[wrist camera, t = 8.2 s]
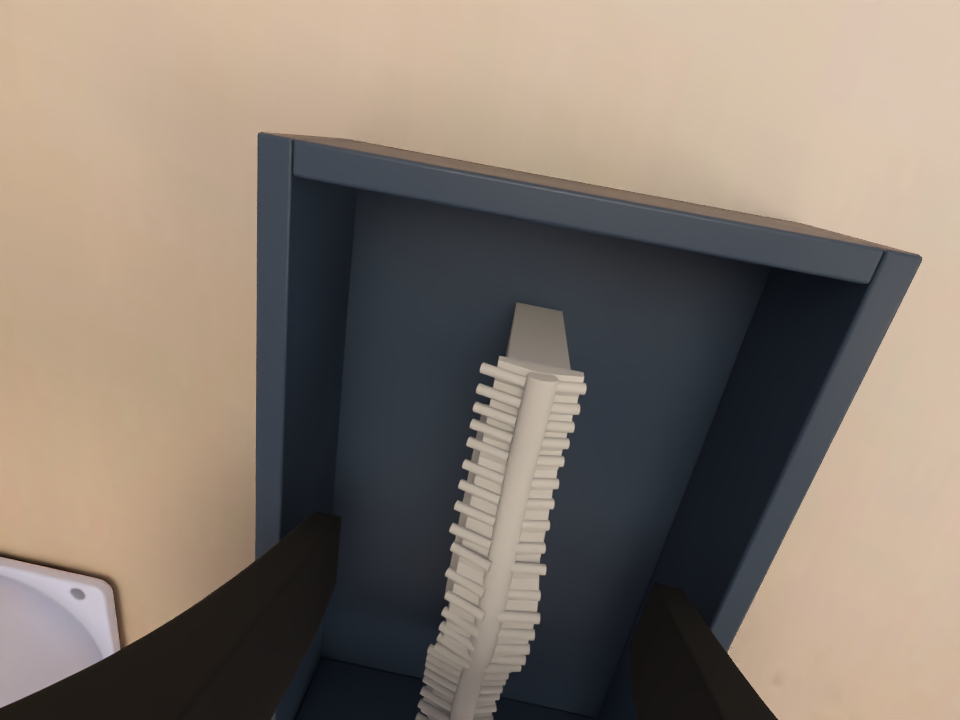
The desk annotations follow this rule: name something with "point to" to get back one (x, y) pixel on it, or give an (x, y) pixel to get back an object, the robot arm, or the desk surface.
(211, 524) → the desk surface
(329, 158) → the tote
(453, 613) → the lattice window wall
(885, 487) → the desk surface
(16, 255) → the desk surface
